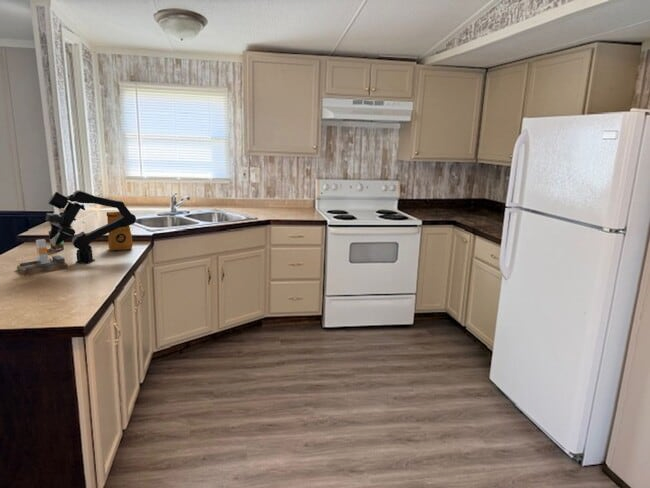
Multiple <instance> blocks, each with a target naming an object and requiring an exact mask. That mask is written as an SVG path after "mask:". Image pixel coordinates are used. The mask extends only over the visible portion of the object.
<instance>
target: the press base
mask: <svg viewBox="0 0 650 488" xmlns="http://www.w3.org/2000/svg"><path fill="white" fill-rule="evenodd" d="M49 259H50V261H51V263H50V264H43V265H38V264H36V260H32V261H26V262H21V263H19V265H16V269H17V271H18V272H20V273H21V274H22V275H24V276H29V275H34V274H35V275H36V274H41V273H47V272H53V271H57V270H58V271H59V270H63V269H64V270H65V269H68V268H69V266H68V265H69V264H68V263H67V262H66V261H65V259H66V258H65V257H63V256H61V255H52V256H51V258H49Z"/></svg>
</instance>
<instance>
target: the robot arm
mask: <svg viewBox="0 0 650 488" xmlns="http://www.w3.org/2000/svg"><path fill="white" fill-rule="evenodd" d="M47 204H48V205H50V206H52V207H55V208H57V209H58V210H61V209H64V210H63V211H61V212H60V213H50V212H47V213H46V216H45V221H47V222H48V223H49V225H50V230H49V231H50V235H49V234H48V239H49V240H50V239H52V238H53V237H54V236H56V235H57V234H58V233H59V235H58V238H57V240H56V243H55V244H56V245H58V244H59V243H61V242H62V241H65V240H68V239H69V238H70V237H72V239H71V243H72V246H73V247H74V248H76V249H77V250H76V261H75V263H76V264H90V263H92V262H94V261H95V260H96V259H95V258H94V257H93V250H92V249H93V248H92V246H91V243H92V242H93V241H95V240H96V239H99V238H101V237H103V236H105V235H108V234H109V232H111V231H113V230H115V229H118V228H120V227H124V226H131V225H134V224H135V223H136V221H137V217H136V215H135V214H133V213H131V212H130V210H129V209H128V207H127V206H126V205H125V203H124V202H123V201H121V200H116V199H112V198H106V197H102V196H96V195H93V194H91V193H88V192H85V191H83V190H78V189H77V190H76V191H74V192H73V194H70V195H68V196H66V195H63V194H61V193H59V192H58V191H55V193H53V195H52V196H51V197H50V198H49V201H48V203H47ZM84 204H95V205H100V206H104V207H109V208H116V209H117V210H118V212H120V213H121V216H120V217H119V218H117V219H116V220H115V221H113V222H111V223H109V224H108V223H107V224H104V225H102V226H100V227H98V228H96V229H94V230H92V231H90V232H87V233H86V232H85V231H83V230H82V231H81V232H79V233H77V234H76V230H75V229H74V228H72V227H73V226H72V223H73V222H76V220H77V218H76V217H77V215H78V214H79V212H80V210H83V211H86V208H85V205H84Z"/></svg>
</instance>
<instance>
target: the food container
mask: <svg viewBox="0 0 650 488" xmlns="http://www.w3.org/2000/svg"><path fill="white" fill-rule="evenodd" d="M50 231H51V230H48V236H49V235H50ZM58 235H59V233H58V234H57V235H56V236H54V237H53V238H52V239H49V243H50V244H49V245H50V249H51V250H52V251H54V252H56V253H57V252H61V251H64V249H65V245H64V243H65V242H64V241H65V240H64V241H62V242H61V243H59V244H58V245H56V244H55V243H56V240H57V238H58Z"/></svg>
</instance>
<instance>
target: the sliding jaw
mask: <svg viewBox="0 0 650 488" xmlns="http://www.w3.org/2000/svg"><path fill="white" fill-rule="evenodd" d="M35 244H36V245H35V246H36V254H37V257H35V261H36V264H38V265H43V264H50V263H51V261H50V259H51V258H49V257H48V248H47V240H46V239H44V238H42V239H35Z"/></svg>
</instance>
